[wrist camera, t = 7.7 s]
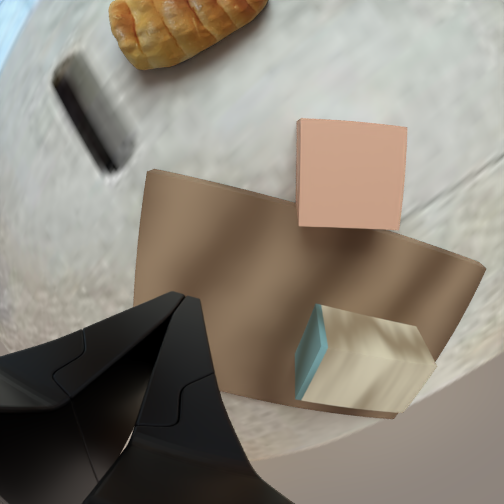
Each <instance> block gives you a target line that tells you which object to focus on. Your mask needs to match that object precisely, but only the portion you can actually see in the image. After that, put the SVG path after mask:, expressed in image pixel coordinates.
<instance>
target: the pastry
mask: <svg viewBox="0 0 504 504" xmlns="http://www.w3.org/2000/svg"><path fill="white" fill-rule="evenodd" d="M267 1H268V0H115V1H113V2H112V3H111V4H110V7H109V20H110V25H111V31H112V33H113V35H114V37H115V38H116V39H117V41H118V45H119V48H120V49H121V51H122V52H123V54H124V55H125V57H126V58H127V59H128V61H129V62H130V63H131V64H132V65H133V66H134V67H136V68H137V69H139V70H148V69H155V68H161V67H171V66H174V65H176V64H178V63H180V62H183V61H185V60H187V59H190V58H192V57H193V56H195V55H196V54H198V53H199V52H201V51H203V50H205V49H207V48H208V47H210V46H212V45H214V44H216V43H217V42H219V41H220V40H222V39H223V38H225V37H227V36H228V35H230V34H231V33H233V32H234V31H236V30H238V29H239V28H241V27H243V26H244V25H246V24H248V23H249V22H251V21H252V20H253V19H254V18H255V17H256V16H257V15H258V14H259V13H260V12H261V11H262V10H263V8H264V7H265V5H266V4H267Z"/></svg>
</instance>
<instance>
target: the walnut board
mask: <svg viewBox="0 0 504 504" xmlns="http://www.w3.org/2000/svg"><path fill="white" fill-rule="evenodd" d="M485 271H486V268H485V267H484V266H483V265H482V264H480V263H479V262H477V261H475V260H472V259H469V258H467V257H464V256H461V255H458V254H456V253H453V252H450V251H447V250H444V249H441V248H439V247H436V246H433V245H430V244H427V243H424V242H421V241H418V240H415V239H412V238H409V237H406V236H403V235H400V234H397V233H394V232H391V231H388V230H385V229H362V228H337V227H307V226H299V225H298V217H297V209H296V203H293V202H290V201H286V200H282V199H279V198H275V197H271V196H267V195H264V194H260V193H256V192H252V191H248V190H244V189H240V188H236V187H232V186H228V185H224V184H219V183H215V182H211V181H207V180H203V179H198V178H194V177H189V176H185V175H180V174H176V173H171V172H167V171H162V170H157V169H153V170H150V171H147V175H146V181H145V188H144V195H143V203H142V211H141V219H140V227H139V237H138V247H137V258H136V270H135V285H134V302H133V307H135V306H137V305H140V304H142V303H144V302H147V301H149V300H151V299H154V298H156V297H158V296H161V295H163V294H165V293H168V292H170V291H175V292H178V293H182V294H184V295H185V297H186V296H187V295H189V296H192V297H196V298H199V299H200V300H201V305H202V310H203V315H204V321H205V326H206V331H207V336H208V341H209V346H210V351H211V356H212V360H213V365H214V370H215V375H216V378H217V383H218V387H219V391H223V392H227V393H231V394H235V395H240V396H244V397H248V398H253V399H257V400H262V401H267V402H271V403H276V404H282V405H287V406H292V407H298V408H304V409H310V410H316V411H323V412H330V413H337V414H345V415H354V416H363V417H373V418H385V419H394V418H395V417H396V415H397V414H398V413H396V412H384V411H373V410H364V409H355V408H347V407H340V406H333V405H326V404H320V403H313V402H307V401H302V400H296V399H295V352H296V350H297V348H298V345H299V343H300V341H301V338H302V336H303V333H304V331H305V329H306V326H307V324H308V321H309V319H310V316H311V314H312V311H313V309H314V306H315V304H320V305H324V306H328V307H332V308H336V309H341V310H345V311H349V312H353V313H358V314H362V315H366V316H371V317H375V318H380V319H384V320H389V321H393V322H398V323H402V324H407V325H412V326H416V327H417V329H418V331H419V333H420V334H421V336H422V338H423V340H424V342H425V344H426V346H427V348H428V349H429V351H430V353H431V355H432V357H433V359H434V361H436V360H437V358H438V357H439V355H440V354H441V352H442V351H443V349H444V347H445V346H446V344H447V342H448V341H449V339H450V337H451V336H452V334H453V332H454V331H455V329H456V327H457V325H458V324H459V322H460V320H461V318H462V316H463V315H464V313H465V311H466V309H467V307H468V305H469V303H470V302H471V300H472V298H473V296H474V294H475V292H476V290H477V288H478V286H479V284H480V281H481V279H482V277H483V275H484V273H485Z"/></svg>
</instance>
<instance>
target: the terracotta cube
mask: <svg viewBox="0 0 504 504" xmlns="http://www.w3.org/2000/svg"><path fill="white" fill-rule="evenodd" d="M406 148H407V127H400V126H393V125H384V124H375V123H365V122H354V121H341V120H326V119H304V118H301V119H299V120H298V121H297V157H296V209H297V217H298V225H299V226H307V227H337V228H362V229H385V230H399V226H400V218H401V209H402V200H403V190H404V179H405V165H406Z"/></svg>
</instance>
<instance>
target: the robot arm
mask: <svg viewBox="0 0 504 504" xmlns="http://www.w3.org/2000/svg"><path fill="white" fill-rule="evenodd" d="M134 426H135V427H134ZM133 428H134V430H133ZM132 430H133V433H132V435H131V438H130V440H129V443H128V445H127V446H126V448H125V449H124V450H123V448H124V446H125V444H126V442H127V440H128V438H129V436H130V434H131V432H132ZM122 450H123V452H122ZM121 452H122V453H121ZM0 504H295V503H293V502H292V501H290V500H289V499H288V498H286V497H285V496H283V495H282V494H281V493H279V492H278V491H277V490H275V489H274V488H273V487H271V486H270V485H269V484H267V483H266V482H265V481H264V480H262V479H261V477H260V476H259V475H258V474H257V473H256V472H255V470H254V469H253V467H252V466H251V464H250V462H249V460H248V458H247V456H246V454H245V452H244V450H243V448H242V446H241V443H240V441H239V439H238V437H237V435H236V433H235V430H234V428H233V426H232V424H231V421H230V419H229V417H228V414H227V412H226V409H225V406H224V404H223V401H222V398H221V394H220V391H219V387H218V383H217V378H216V375H215V370H214V365H213V360H212V356H211V351H210V346H209V341H208V336H207V331H206V326H205V321H204V315H203V310H202V305H201V300H200V299H199V298H196V297H192V296H189V295H187V296H186V297H185V295H184V294H182V293H178V292H175V291H170V292H168V293H165V294H163V295H161V296H158V297H156V298H154V299H151V300H149V301H147V302H144V303H142V304H140V305H137V306H135V307H133V308H130V309H128V310H125V311H123V312H121V313H118V314H116V315H114V316H111V317H109V318H107V319H104V320H102V321H100V322H97V323H95V324H92V325H90V326H88V327H85V328H83V330H82V329H80V330H78V331H76V332H73V333H71V334H68V335H66V336H63V337H61V338H58V339H56V340H53V341H50V342H47V343H44V344H41V345H38V346H34V347H31V348H28V349H24V350H21V351H17V352H14V353H11V354H7V355H4V356H0Z"/></svg>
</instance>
